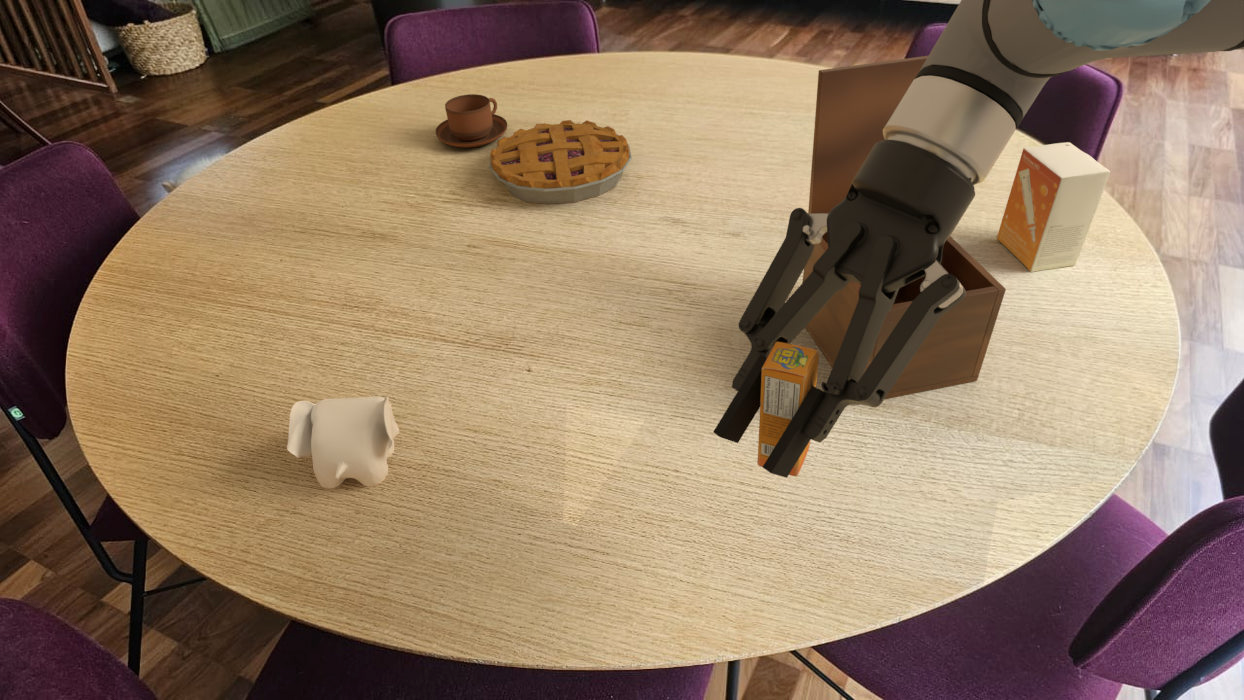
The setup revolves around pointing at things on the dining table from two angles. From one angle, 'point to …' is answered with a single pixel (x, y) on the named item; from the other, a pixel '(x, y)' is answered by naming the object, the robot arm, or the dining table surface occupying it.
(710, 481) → the dining table surface
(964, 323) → the chest
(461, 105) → the cup and saucer
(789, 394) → the supplement box
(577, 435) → the dining table surface
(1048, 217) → the small box
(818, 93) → the lid
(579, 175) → the pie
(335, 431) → the elephant figurine
